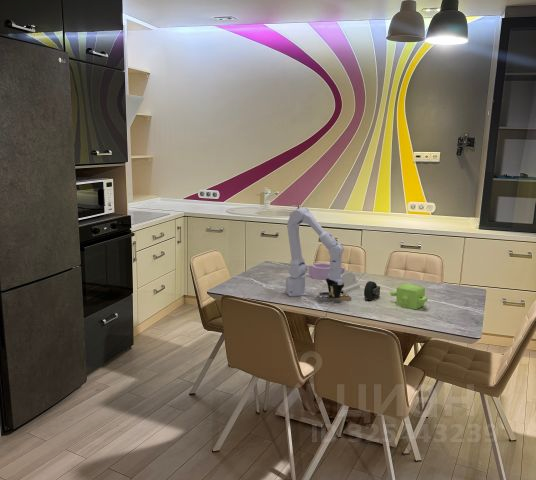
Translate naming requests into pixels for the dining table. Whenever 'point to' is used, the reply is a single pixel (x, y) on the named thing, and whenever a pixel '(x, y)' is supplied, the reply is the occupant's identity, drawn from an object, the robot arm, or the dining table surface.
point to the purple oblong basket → (321, 271)
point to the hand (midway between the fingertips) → (334, 295)
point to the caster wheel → (371, 290)
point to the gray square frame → (324, 293)
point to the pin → (332, 291)
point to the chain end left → (327, 298)
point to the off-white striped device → (349, 282)
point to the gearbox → (410, 296)
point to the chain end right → (344, 297)
